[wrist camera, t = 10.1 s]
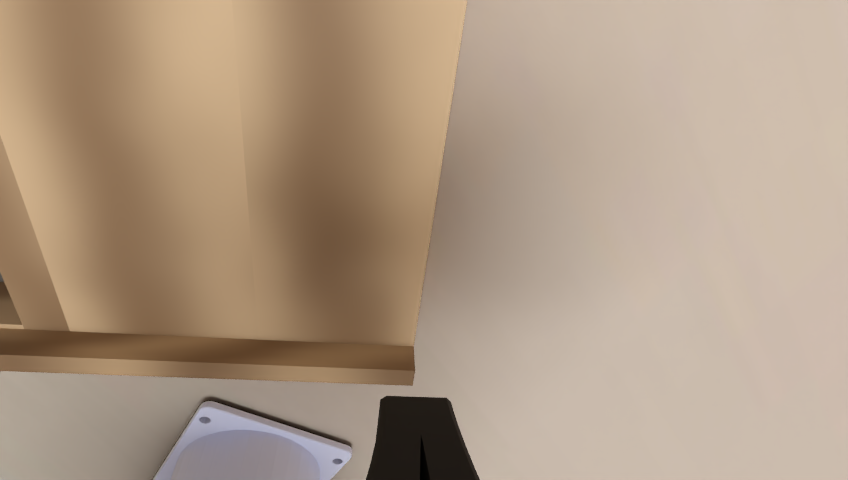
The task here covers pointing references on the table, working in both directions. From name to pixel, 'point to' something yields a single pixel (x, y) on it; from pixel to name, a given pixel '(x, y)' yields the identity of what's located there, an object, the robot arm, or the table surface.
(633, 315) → the table surface
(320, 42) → the wooden compartment tray
